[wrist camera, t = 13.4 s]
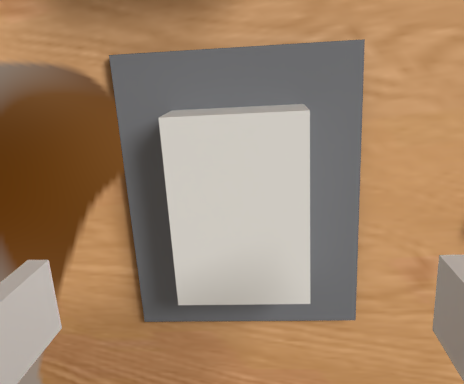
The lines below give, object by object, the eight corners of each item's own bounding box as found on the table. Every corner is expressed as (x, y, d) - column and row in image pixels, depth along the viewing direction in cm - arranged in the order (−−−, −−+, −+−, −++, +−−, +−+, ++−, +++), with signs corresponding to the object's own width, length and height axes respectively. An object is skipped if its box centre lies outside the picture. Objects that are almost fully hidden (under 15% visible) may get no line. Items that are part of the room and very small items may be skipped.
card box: (305, 276, 25) (310, 303, 22) (187, 278, 26) (178, 305, 23) (304, 103, 22) (309, 110, 19) (171, 110, 23) (158, 117, 20)
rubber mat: (113, 55, 23) (109, 55, 22) (361, 39, 22) (364, 39, 21) (147, 316, 27) (144, 321, 27) (353, 314, 26) (355, 320, 26)
